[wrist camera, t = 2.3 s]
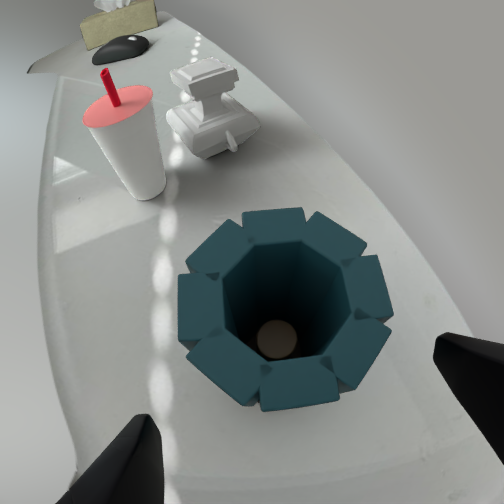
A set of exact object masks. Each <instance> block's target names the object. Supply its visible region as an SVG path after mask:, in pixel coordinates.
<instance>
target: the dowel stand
mask: <svg viewBox="0 0 504 504" xmlns="http://www.w3.org/2000/svg"><path fill="white" fill-rule="evenodd" d="M246 345H247V346H248V347H249V348H251V349H252V350H253V351H255V352H256V353H257V354H258V355H260V356H261V357H262V358H264V359H265V360H266V361H268V362H270V361H279V360H287V359H294V358H301V351H300V344H299V342H298V337H297V333H296V331H295V329H294V328H293V326H292V325H291V324H289V323H288V322H286V321H283V320H278V319H276V320H270V321H268V322H266V323H264V324H263V325H262V326H261V327H260V328H259V330H258V331H257V332H256V333H255V335H254V336H253V337H252V338H251V339H250V340H249V342H248V343H247V344H246ZM257 402H258V403H260V402H259V400H258V401H257Z"/></svg>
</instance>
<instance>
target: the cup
mask: <svg viewBox="0 0 504 504" xmlns="http://www.w3.org/2000/svg"><path fill="white" fill-rule="evenodd" d="M100 76H101V78H102V81H103V83H104V86H105V88H106V90H107V93H108V94H106V95H104V96H103V97H101V98H100V99H98V100H97V101H95V102H94V103H93V104H92V105H91V106H90V107H89V108H88V109H87V110H86V112H85V114H84V116H83V123H84V125H86V126H87V127H88V128H89V130H90V132H91V133H92V135H93V137H94V138H95V140H96V141H97V143H98V145H99V146H100V148H101V150H102V151H103V153H104V154H105V156H106V157H107V159H108V161H109V162H110V164H111V165H112V167H113V168H114V170H115V171H116V173H117V174H118V176H119V178H120V179H121V181H122V182H123V184H124V185H125V186H126V188H127V189H128V191H129V192H130V194H131V195H132V196H133V197H134V198H135V199H137V200H149V199H152V198H154V197H156V196H157V195H159V194H160V193H161V192H162V191H163V190H164V188H165V186H166V177H165V172H164V166H163V161H162V155H161V150H160V144H159V139H158V133H157V127H156V121H155V115H154V109H153V103H152V96H153V92H152V90H151V89H150V88H149V87H146V86H141V85H135V86H128V87H124V88H120V89H118V90H116V88H115V86H114V83H113V81H112V78H111V76H110V73H109V70H108V68H105V69H103V70H102V72H101V74H100Z"/></svg>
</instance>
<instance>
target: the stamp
mask: <svg viewBox="0 0 504 504" xmlns="http://www.w3.org/2000/svg"><path fill="white" fill-rule="evenodd" d="M169 72H170V76H171V79H172V82H173V83H174V84H176V85H177V86H178V87H180V88H181V89H182V90H184V91H185V92H186V93H187V94H188V95H189V96H190V97H192V98H193V99H194V100H192V101H190V102H187V103H185V104H182V105H180V106H177V107H175V108H172V109H170V110H169V111H168V112H167V115H166V121H167V122H168V123H169V124H170V126H171V127H172V128H173V129H174V131H175V132H176V133H177V134H178V136H179V137H180V138H181V139H182V141H183V142H184V143H185V144H186V146H187V147H188V148H189V149H190V151H191V152H192V153H193V154H194V155H196V156H197V157H200V158H202V159H203V160H204V159H206V158H208V157H211V156H213V155H215V154H217V153H220V152H222V151H224V150H227V149H229V150H231V151H232V152H235V151H237V145H239V144H241V143H243V142H245V140H246V139H247V138H248V137H250V136H251V135H252V134H253V133H254V132H256V130H257V129H258V128H260V123H259V120H258V119H257V117H256V116H255V115H254V114H253V113H251V112H250V111H249V110H248V109H246V108H245V107H244V106H243V105H241V104H240V103H239V102H237V101H236V100H235V99H233V98H232V97H231V96H230V95H228V94H227V93H226V92H228V91H231V90H233V88H234V87H235V86H234V82H235V81H238V80H239V77H238V74H237V70H236V68H234V67H232V66H230V65H228V64H226V63H224V62H221V61H219V60H217V59H215V58H213V57H209V58H206V59H203V60H200V61H197V62H194V63H191V64H188V65H185V66H182V67H180V68H177V69H174V70H172V71H169Z"/></svg>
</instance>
